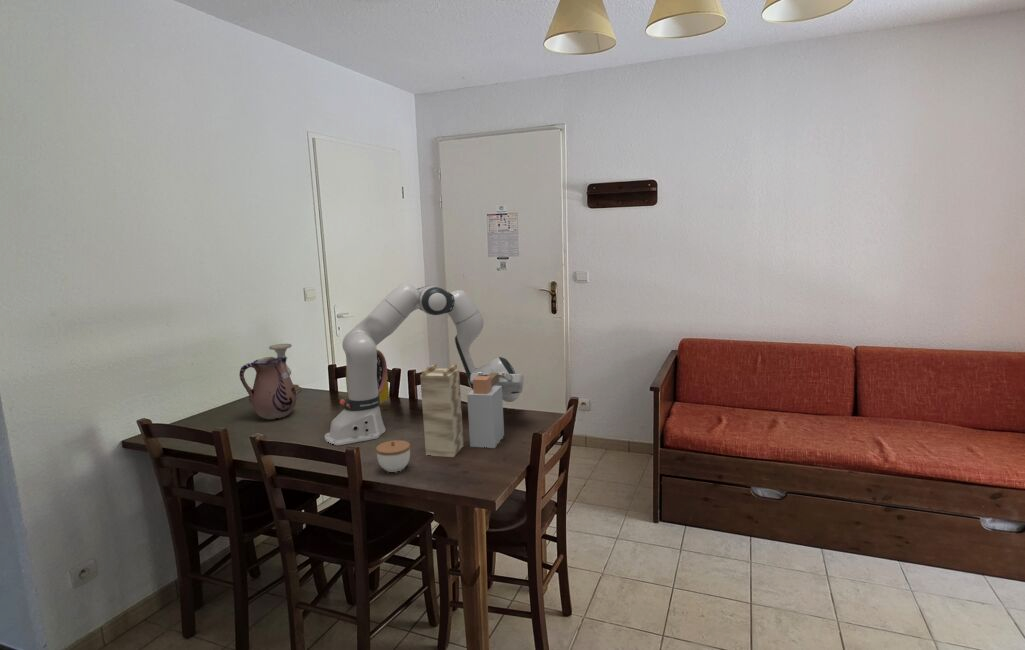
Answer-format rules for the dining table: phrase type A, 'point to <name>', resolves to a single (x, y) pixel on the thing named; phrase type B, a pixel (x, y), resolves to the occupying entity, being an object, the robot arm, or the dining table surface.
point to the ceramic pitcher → (270, 388)
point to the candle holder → (280, 351)
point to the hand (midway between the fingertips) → (491, 374)
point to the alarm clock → (380, 377)
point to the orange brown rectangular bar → (485, 383)
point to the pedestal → (486, 418)
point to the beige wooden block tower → (442, 411)
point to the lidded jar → (393, 455)
